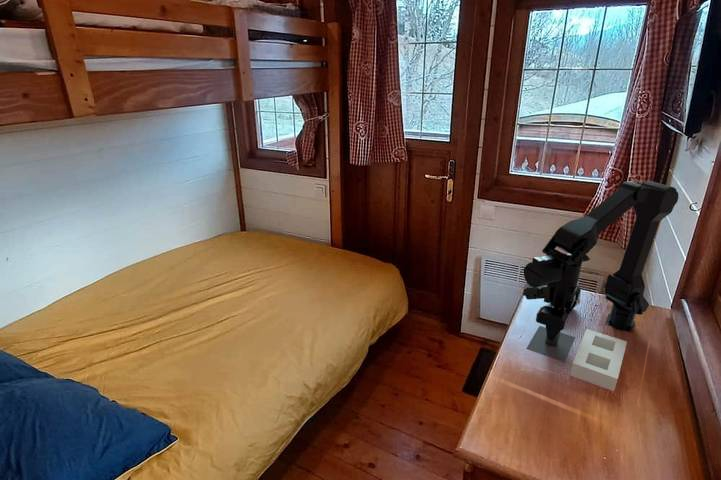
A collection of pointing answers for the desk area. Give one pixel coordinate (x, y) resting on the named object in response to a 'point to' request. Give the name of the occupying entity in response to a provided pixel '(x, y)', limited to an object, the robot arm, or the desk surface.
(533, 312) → the desk surface
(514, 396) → the desk surface
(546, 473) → the desk surface
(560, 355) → the mat
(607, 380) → the hole block
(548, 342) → the peg
